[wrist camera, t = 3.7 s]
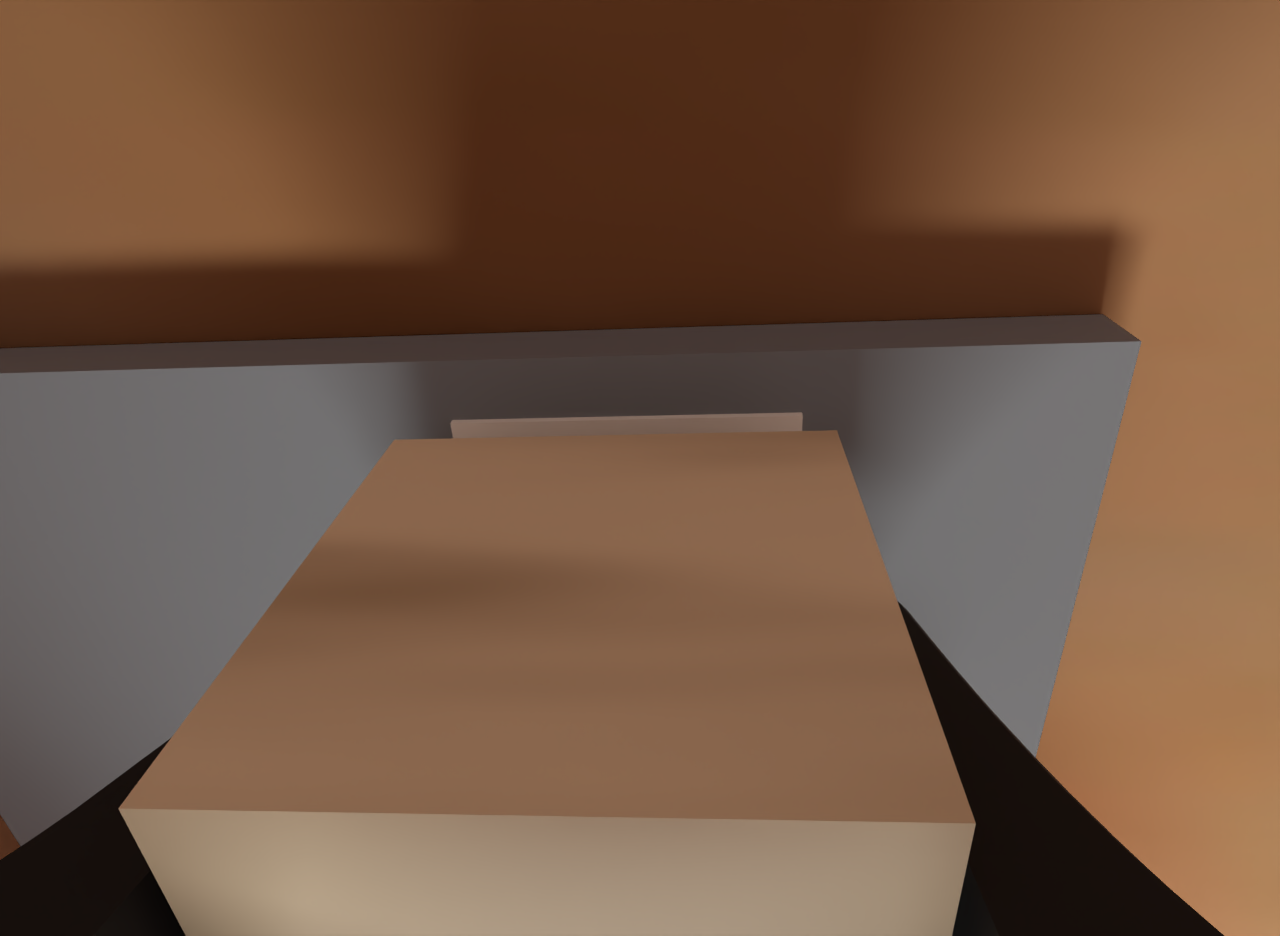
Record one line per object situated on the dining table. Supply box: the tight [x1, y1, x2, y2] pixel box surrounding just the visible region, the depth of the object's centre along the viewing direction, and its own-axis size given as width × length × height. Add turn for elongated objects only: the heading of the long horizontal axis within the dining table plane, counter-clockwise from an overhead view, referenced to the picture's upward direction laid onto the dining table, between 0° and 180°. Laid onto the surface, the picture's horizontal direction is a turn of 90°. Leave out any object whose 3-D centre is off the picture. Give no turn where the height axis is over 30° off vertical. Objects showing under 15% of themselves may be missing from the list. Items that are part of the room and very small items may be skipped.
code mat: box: [0, 314, 1141, 846], centre depth 14 cm, size 15×18×1 cm
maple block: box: [118, 430, 976, 936], centre depth 8 cm, size 5×5×5 cm
